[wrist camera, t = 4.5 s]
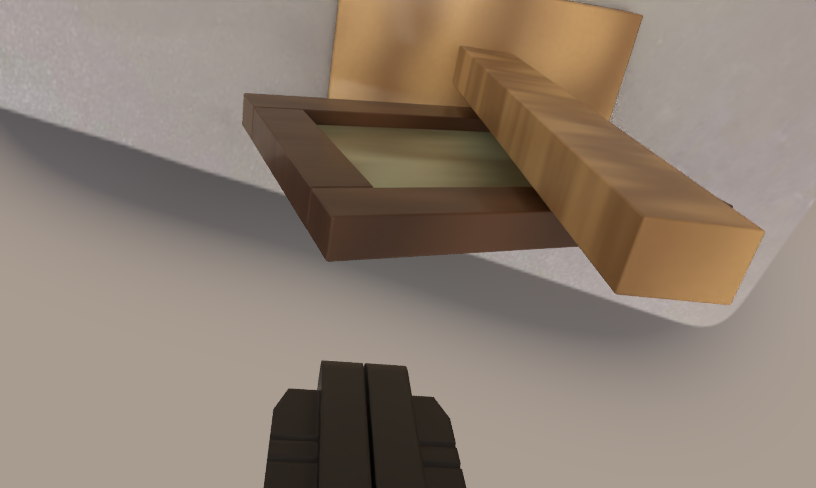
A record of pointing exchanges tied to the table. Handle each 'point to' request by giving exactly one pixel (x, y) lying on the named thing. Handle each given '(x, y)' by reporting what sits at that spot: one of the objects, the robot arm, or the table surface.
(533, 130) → the stand
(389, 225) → the frame
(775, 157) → the table surface
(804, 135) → the table surface
